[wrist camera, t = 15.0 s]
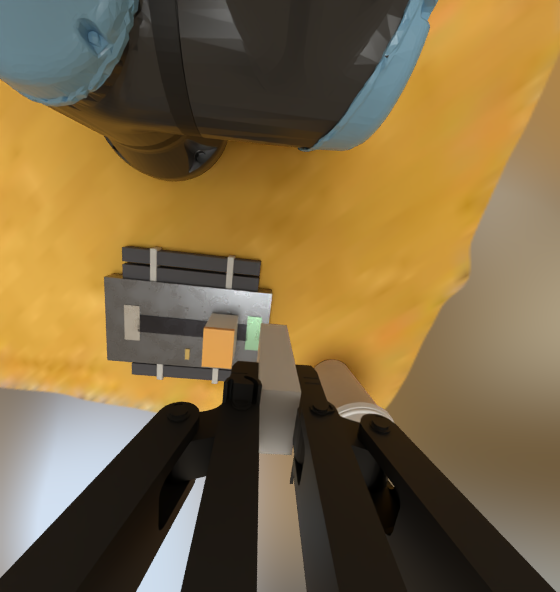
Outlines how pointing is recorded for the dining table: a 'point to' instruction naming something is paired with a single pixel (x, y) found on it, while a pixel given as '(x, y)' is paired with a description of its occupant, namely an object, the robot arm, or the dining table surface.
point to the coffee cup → (346, 391)
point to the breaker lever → (219, 341)
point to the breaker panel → (177, 320)
